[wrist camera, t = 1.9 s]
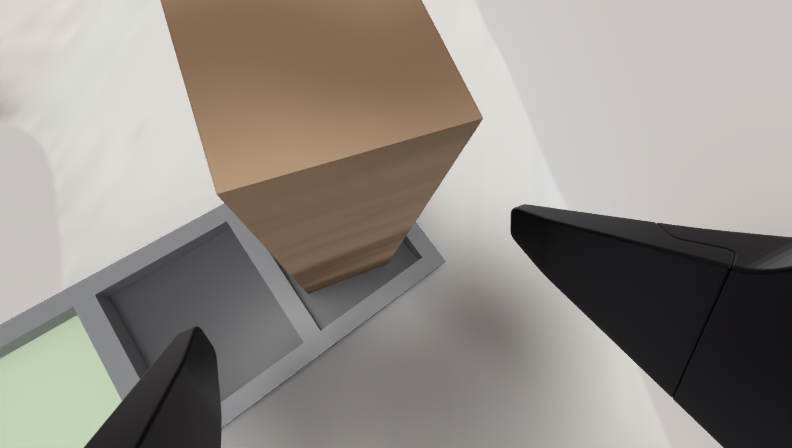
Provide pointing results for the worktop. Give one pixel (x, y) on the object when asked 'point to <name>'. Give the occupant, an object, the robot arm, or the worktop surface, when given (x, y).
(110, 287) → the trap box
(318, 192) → the walnut block
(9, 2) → the worktop surface
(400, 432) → the worktop surface
